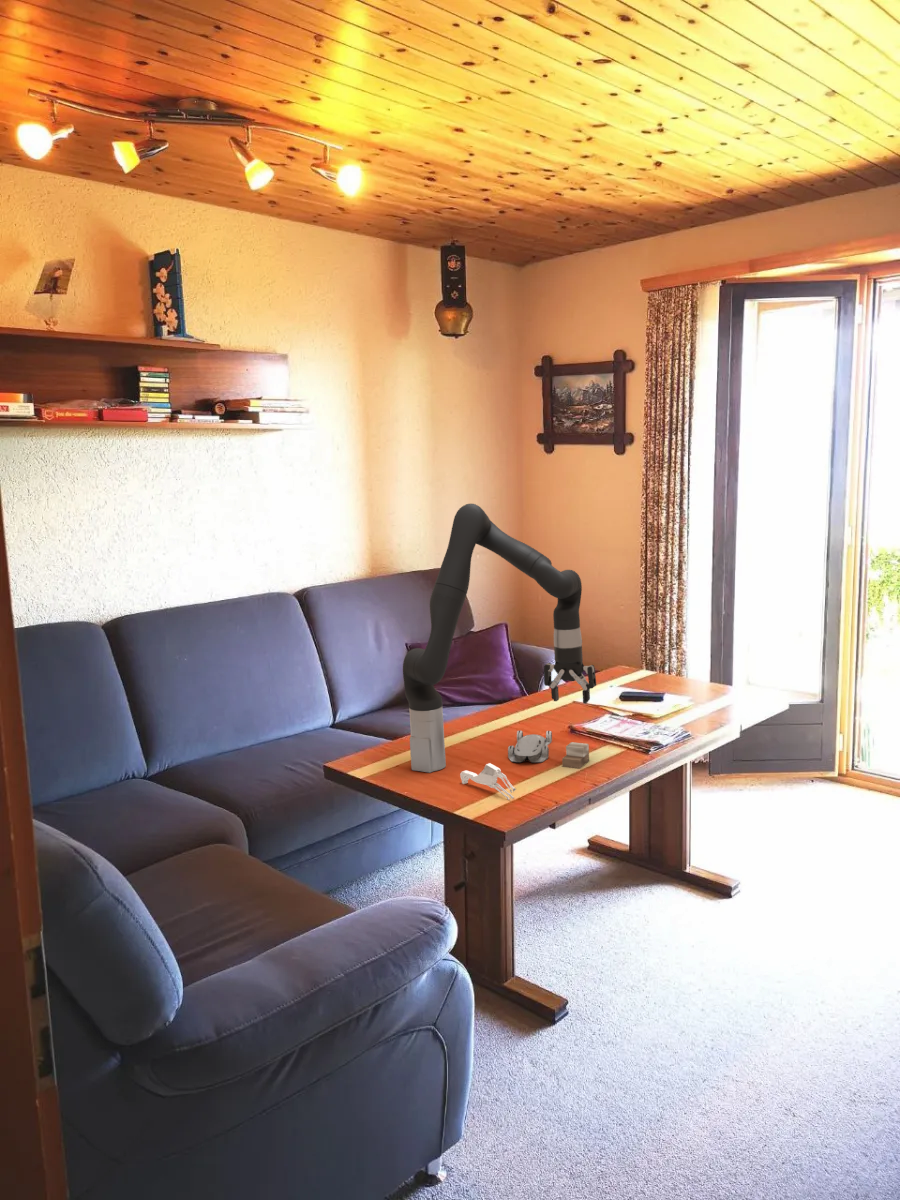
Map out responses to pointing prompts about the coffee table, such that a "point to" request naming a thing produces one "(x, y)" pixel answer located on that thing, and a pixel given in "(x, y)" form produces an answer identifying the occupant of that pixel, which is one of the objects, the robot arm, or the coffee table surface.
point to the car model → (530, 748)
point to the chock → (576, 755)
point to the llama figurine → (488, 778)
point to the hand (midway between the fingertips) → (570, 701)
